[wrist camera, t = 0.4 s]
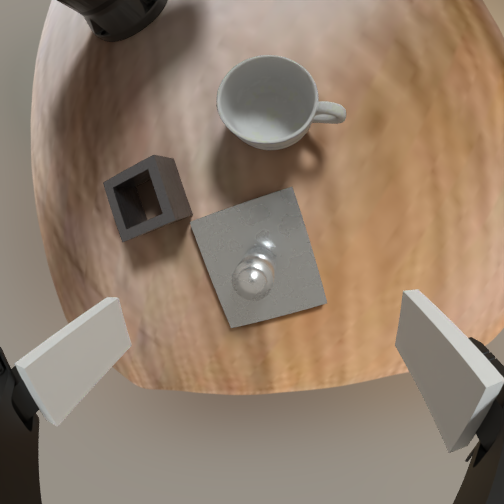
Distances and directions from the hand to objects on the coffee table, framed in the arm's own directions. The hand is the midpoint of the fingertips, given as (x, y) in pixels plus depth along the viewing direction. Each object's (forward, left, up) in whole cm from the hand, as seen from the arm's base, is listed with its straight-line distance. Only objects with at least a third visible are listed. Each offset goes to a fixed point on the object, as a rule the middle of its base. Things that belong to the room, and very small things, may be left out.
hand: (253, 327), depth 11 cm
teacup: (-14, +5, -26) cm, 30 cm away
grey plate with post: (+3, -4, -25) cm, 26 cm away
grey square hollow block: (-10, -15, -25) cm, 31 cm away
